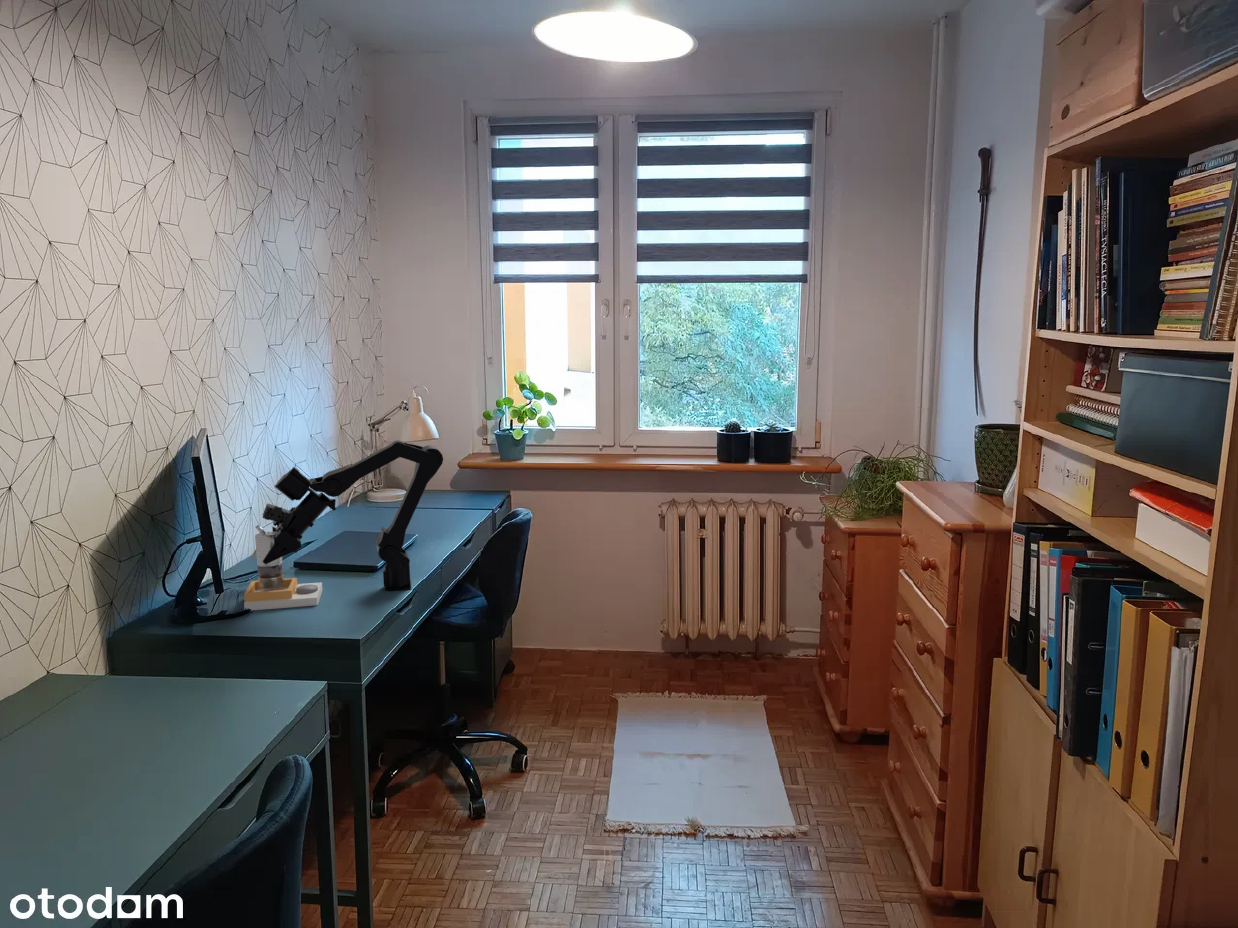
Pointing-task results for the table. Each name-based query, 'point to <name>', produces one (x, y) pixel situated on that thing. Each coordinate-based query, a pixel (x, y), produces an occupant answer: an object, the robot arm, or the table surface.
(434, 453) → the robot arm
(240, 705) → the table surface
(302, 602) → the white orange holder tray
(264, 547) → the spout can
